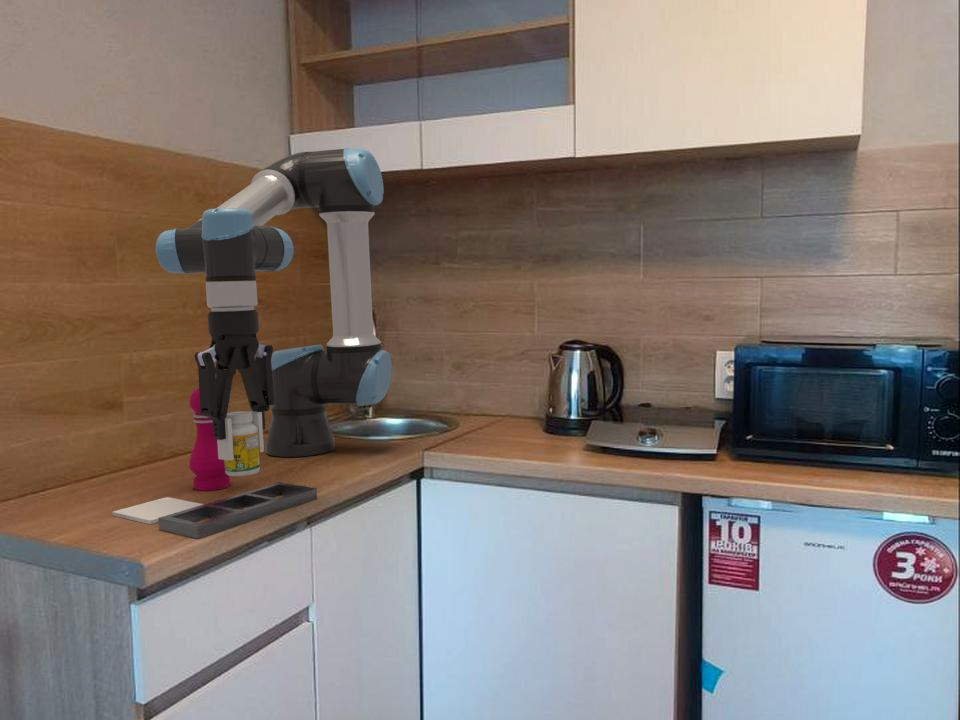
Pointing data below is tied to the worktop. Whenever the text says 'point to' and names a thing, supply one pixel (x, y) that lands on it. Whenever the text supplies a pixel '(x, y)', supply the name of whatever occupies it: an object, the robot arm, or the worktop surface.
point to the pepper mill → (206, 453)
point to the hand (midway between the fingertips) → (241, 454)
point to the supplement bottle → (243, 445)
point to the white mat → (154, 509)
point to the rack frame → (230, 516)
